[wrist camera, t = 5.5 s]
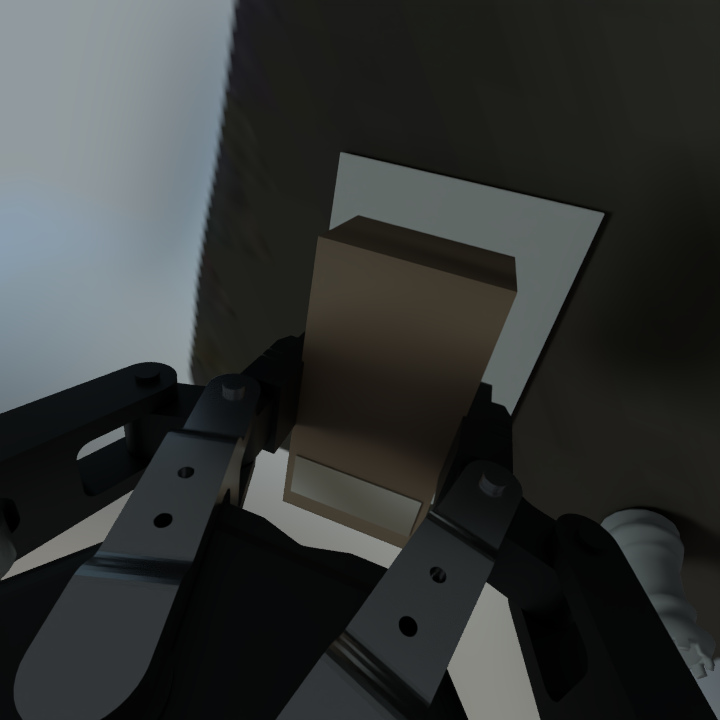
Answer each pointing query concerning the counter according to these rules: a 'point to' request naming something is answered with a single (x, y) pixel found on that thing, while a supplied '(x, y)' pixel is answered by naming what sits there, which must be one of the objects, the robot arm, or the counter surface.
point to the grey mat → (482, 245)
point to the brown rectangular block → (390, 370)
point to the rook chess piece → (663, 579)
